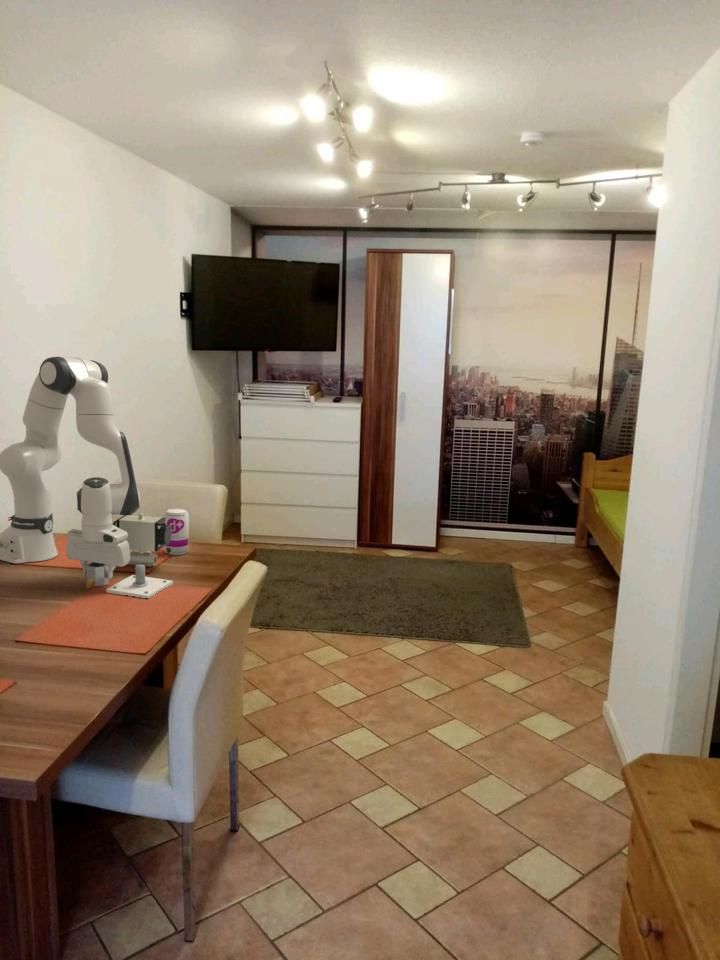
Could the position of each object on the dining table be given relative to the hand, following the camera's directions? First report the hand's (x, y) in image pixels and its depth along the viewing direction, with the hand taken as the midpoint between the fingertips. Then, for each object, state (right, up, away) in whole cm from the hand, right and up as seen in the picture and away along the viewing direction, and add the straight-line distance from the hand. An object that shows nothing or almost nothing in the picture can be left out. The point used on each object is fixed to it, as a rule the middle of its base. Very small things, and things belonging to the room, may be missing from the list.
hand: (98, 575), depth 222 cm
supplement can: (+15, +4, +34) cm, 37 cm away
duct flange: (+14, -3, -2) cm, 14 cm away
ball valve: (+8, +1, +19) cm, 20 cm away
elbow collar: (0, -2, 0) cm, 2 cm away
